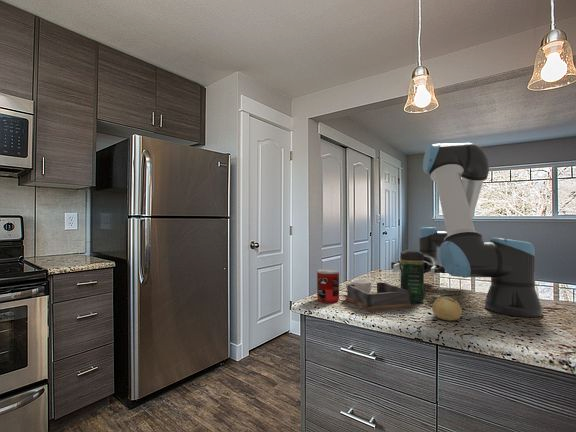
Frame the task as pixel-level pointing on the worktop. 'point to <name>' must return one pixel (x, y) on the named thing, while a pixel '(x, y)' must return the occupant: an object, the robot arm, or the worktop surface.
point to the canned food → (328, 285)
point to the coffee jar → (413, 274)
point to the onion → (447, 309)
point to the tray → (380, 297)
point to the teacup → (361, 284)
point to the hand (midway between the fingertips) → (412, 270)
